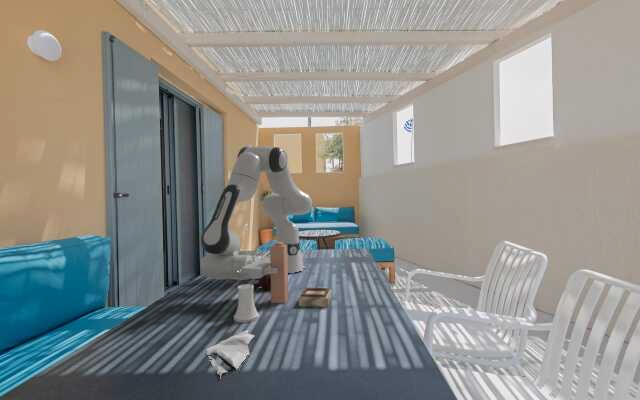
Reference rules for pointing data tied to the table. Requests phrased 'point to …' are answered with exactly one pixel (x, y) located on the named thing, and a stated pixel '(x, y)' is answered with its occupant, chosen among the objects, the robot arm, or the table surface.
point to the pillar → (279, 273)
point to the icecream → (264, 282)
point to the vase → (246, 305)
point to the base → (315, 297)
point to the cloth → (231, 351)
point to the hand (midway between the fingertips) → (281, 267)
